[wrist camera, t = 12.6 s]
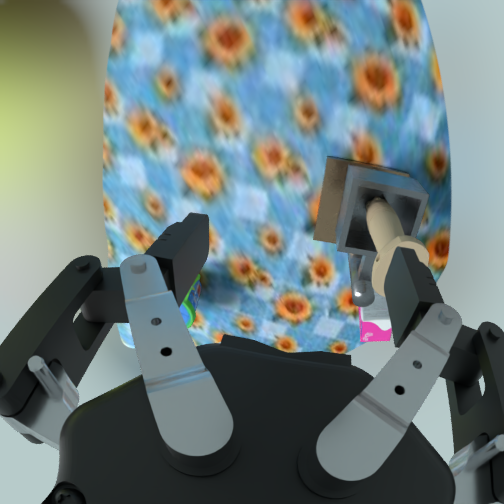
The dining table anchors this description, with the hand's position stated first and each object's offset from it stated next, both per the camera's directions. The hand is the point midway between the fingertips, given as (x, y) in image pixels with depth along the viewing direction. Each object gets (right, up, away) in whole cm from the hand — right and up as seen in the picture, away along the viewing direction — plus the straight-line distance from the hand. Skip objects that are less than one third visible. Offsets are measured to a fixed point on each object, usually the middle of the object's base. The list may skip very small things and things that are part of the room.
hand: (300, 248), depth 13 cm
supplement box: (+22, -8, +46) cm, 52 cm away
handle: (+15, +6, +26) cm, 30 cm away
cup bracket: (+16, +9, +37) cm, 41 cm away
